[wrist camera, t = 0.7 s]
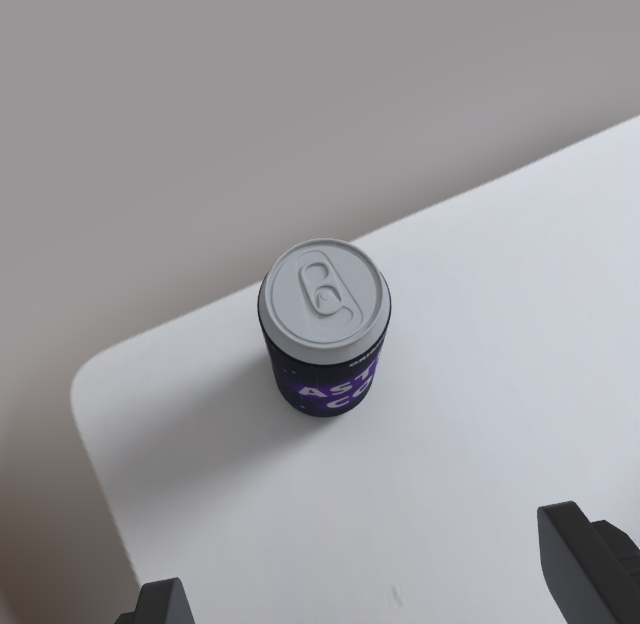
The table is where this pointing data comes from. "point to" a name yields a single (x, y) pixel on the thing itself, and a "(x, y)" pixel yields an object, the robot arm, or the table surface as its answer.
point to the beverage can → (324, 324)
